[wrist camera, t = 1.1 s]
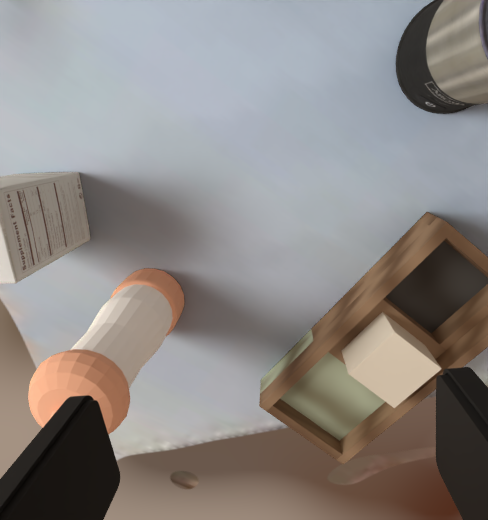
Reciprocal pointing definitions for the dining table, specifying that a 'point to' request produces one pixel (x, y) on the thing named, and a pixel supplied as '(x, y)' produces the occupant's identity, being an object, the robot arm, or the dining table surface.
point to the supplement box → (39, 221)
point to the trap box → (403, 313)
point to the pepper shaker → (111, 349)
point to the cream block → (389, 360)
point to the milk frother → (445, 56)
